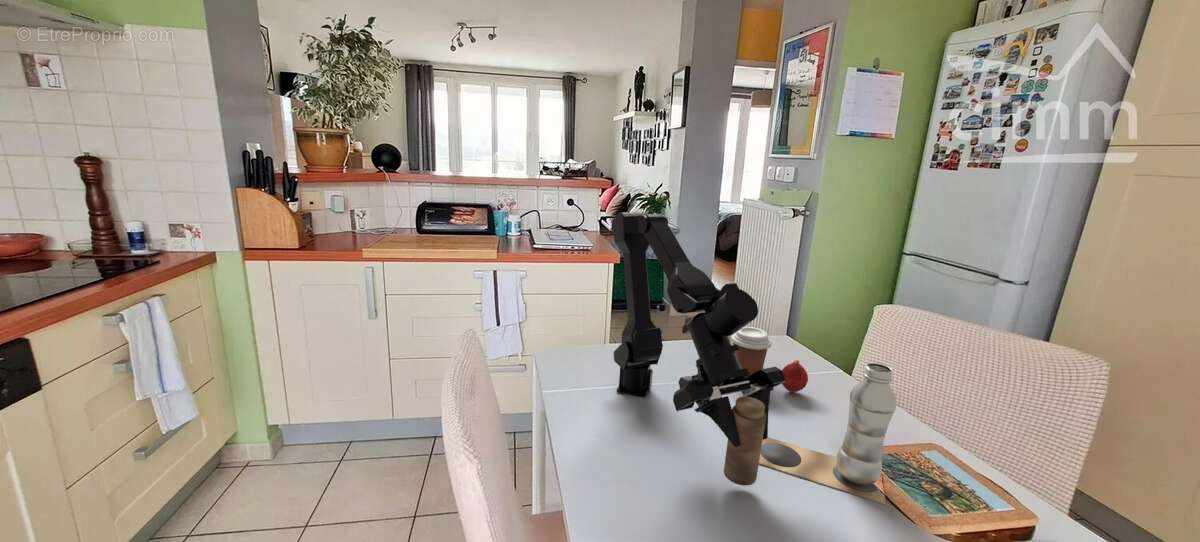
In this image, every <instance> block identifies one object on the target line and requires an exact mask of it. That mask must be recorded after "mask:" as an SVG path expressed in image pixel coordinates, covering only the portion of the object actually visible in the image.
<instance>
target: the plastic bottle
mask: <svg viewBox="0 0 1200 542" xmlns="http://www.w3.org/2000/svg"><path fill="white" fill-rule="evenodd" d="M863 377H864V378H863V379H862V380H860V381H859V382H858V383H857V384H855V385H854V386H853V388H852V390H851V391H850V392H849V410H848V411H849V413H848V421H847V427H846V431H845V435H844V438H843V441H842V443H841V446H840V447H839V450H838V453H837V454H836V455H837V456H835V457H836V466H837V469H838V471H839V473H840V474H841V476H842V477H844V478H845V479H846V480H848V481H850V482H852V483H855V484H858V485H871V484H873V483H875V482H876V481H877V480H878V479H879V477H880V475H881V472H882V473H883V471H882V470H883V450H884V449H883V448H884V441H885V438H886V434H887V430H888V428H889V426H890V423H891V420H892V419H893V416H894V414H895V411H896V409H897V406H898V401H897V396H896V394H895V392H894V391H893V389H892V387H891V385H890V384H891V383H892V381H893V378H892V377H893V369H892V368H891V367H890V366H887V365H885V364H882V363H876V362H868V363H866V365H865V370H864V372H863Z"/></svg>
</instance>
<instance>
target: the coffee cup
mask: <svg viewBox="0 0 1200 542" xmlns="http://www.w3.org/2000/svg"><path fill="white" fill-rule="evenodd" d="M731 340H732V342H733V345H738V348H739V351H738V352H736V353H735V354H736V357H737V359H738V361H739V364H740V366H741V369H748V372H749V374H750V375H752V374H753V373H755V372H757V371H759V370H761V369H764V365H765V362H766V361H765V360H766V357H767V353H768V349H769V348H771V347H772V345H773V344H772V342H773V341H772V340H771V339H770V338H769V334H768V333H767V331H765V330H763V329H762V328H758V327H752V326H744V327H743V328H742V329H740V330H739V331H737V332H736V333H735V334H733V335H732V336H731ZM750 375H748V376H750ZM748 376H746V377H748ZM746 377H745V378H746Z"/></svg>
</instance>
